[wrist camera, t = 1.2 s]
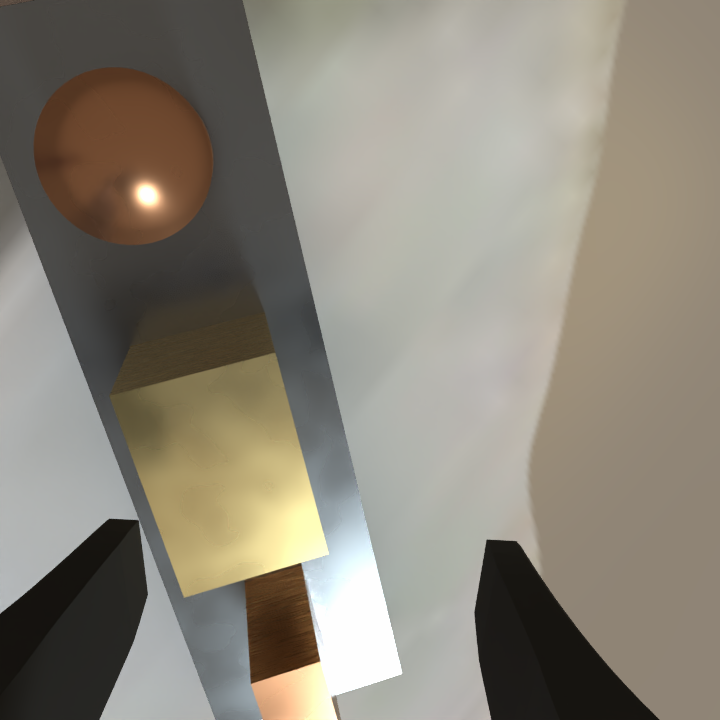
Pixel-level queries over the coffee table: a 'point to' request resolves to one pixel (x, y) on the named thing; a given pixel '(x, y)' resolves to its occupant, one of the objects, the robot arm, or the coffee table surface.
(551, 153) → the coffee table surface
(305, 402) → the hand plane
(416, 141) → the coffee table surface
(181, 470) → the lever cap
